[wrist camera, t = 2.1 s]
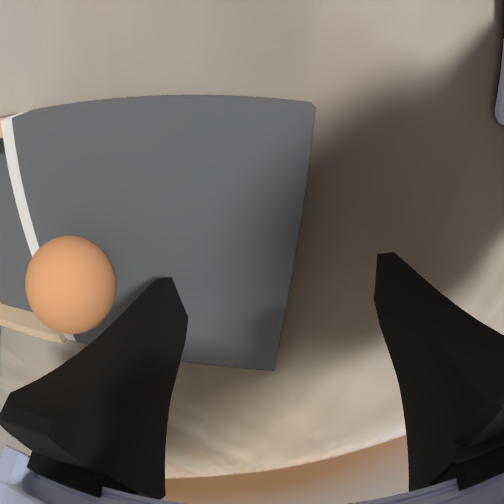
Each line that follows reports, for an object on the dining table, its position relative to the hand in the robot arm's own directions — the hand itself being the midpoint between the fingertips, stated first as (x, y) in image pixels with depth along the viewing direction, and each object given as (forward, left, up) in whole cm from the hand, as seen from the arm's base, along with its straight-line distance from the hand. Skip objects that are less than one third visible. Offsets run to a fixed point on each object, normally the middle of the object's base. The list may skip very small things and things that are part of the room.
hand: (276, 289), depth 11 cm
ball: (+7, 0, +1) cm, 7 cm away
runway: (+8, 0, -2) cm, 9 cm away
